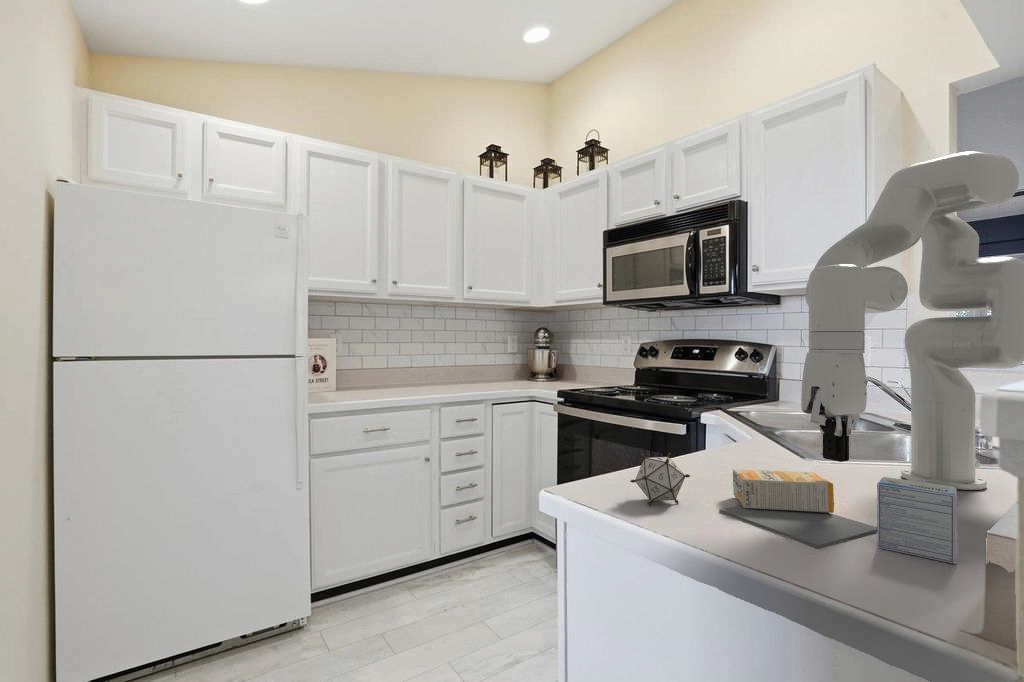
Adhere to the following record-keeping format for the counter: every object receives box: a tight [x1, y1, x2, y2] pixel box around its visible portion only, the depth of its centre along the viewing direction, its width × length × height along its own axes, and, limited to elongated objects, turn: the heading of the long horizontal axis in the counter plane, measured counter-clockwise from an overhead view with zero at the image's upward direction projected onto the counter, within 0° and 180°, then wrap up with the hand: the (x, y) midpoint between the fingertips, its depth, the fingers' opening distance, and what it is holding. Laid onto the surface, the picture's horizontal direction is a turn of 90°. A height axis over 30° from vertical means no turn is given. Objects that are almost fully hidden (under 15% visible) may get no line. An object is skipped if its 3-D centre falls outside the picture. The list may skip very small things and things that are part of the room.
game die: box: [629, 452, 691, 506], centre depth 86 cm, size 9×8×10 cm
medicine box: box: [876, 476, 958, 565], centre depth 66 cm, size 8×4×9 cm, turn 48°
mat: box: [718, 504, 878, 549], centre depth 77 cm, size 14×16×1 cm
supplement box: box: [732, 468, 835, 514], centre depth 84 cm, size 8×5×13 cm
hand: (835, 459), depth 81 cm, fingers closed
